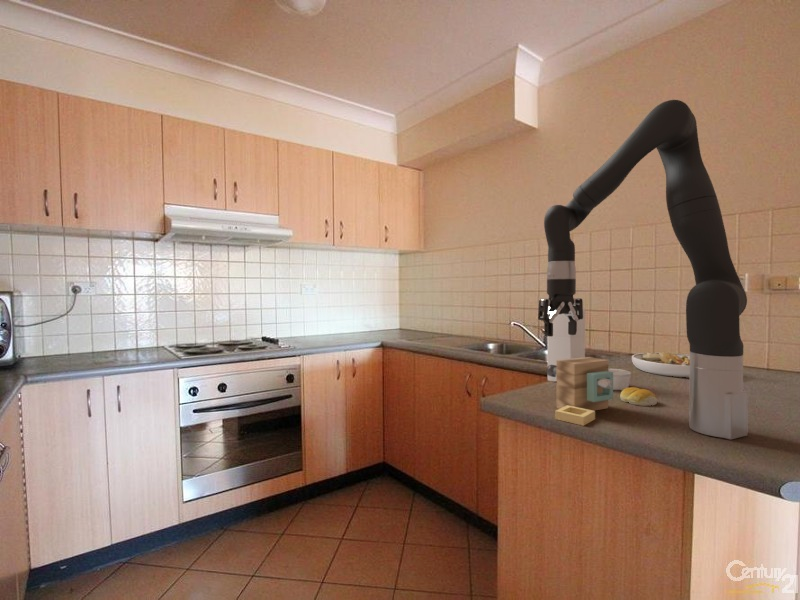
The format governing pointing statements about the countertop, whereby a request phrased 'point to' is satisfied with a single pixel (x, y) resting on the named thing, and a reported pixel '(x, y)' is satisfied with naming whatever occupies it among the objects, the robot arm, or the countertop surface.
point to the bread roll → (638, 396)
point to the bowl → (663, 363)
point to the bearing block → (578, 382)
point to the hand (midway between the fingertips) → (560, 335)
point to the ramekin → (620, 378)
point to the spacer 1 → (575, 415)
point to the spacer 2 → (592, 386)
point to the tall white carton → (565, 341)
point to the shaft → (600, 382)
